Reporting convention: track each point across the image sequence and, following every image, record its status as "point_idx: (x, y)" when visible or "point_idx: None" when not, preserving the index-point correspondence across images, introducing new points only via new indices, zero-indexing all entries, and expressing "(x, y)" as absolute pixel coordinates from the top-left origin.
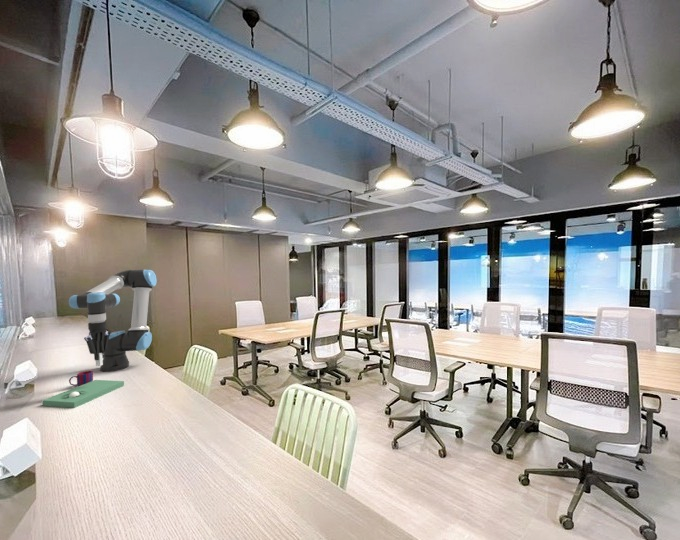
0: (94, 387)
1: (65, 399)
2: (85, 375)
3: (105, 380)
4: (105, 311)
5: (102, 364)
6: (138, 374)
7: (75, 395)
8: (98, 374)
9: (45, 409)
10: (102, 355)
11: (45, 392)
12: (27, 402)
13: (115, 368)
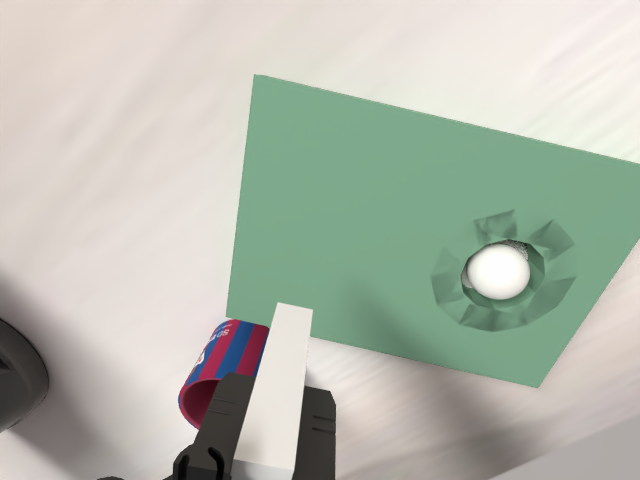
0: (375, 232)
1: (578, 276)
2: None
3: (238, 246)
4: None
5: (280, 307)
6: (28, 123)
7: (524, 257)
8: (91, 377)
9: (592, 319)
10: (222, 414)
11: (336, 448)
12: (452, 442)
13: (3, 338)
